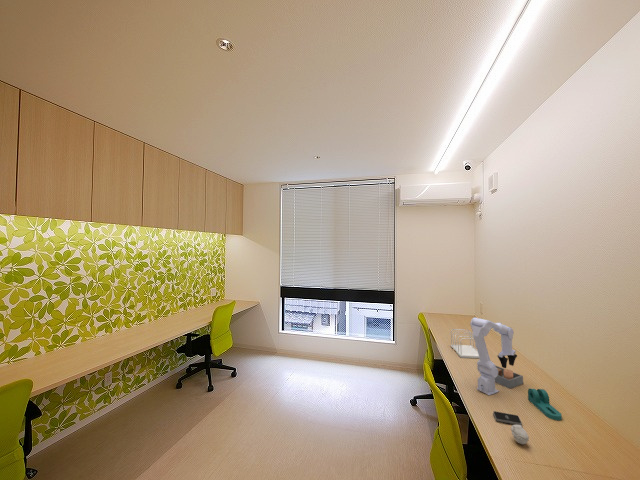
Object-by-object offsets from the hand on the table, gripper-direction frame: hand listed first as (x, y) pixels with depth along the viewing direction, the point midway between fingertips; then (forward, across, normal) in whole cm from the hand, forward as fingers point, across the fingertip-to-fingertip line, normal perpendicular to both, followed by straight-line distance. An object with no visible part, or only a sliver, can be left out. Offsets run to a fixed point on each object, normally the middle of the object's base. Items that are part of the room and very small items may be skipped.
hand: (507, 366), depth 170 cm
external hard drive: (+11, -39, -22) cm, 46 cm away
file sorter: (+11, +22, +46) cm, 52 cm away
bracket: (+11, -12, -26) cm, 30 cm away
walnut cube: (+10, 0, +8) cm, 12 cm away
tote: (+10, 0, +4) cm, 11 cm away
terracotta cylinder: (+10, 0, 0) cm, 10 cm away
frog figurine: (+11, -50, -34) cm, 61 cm away
